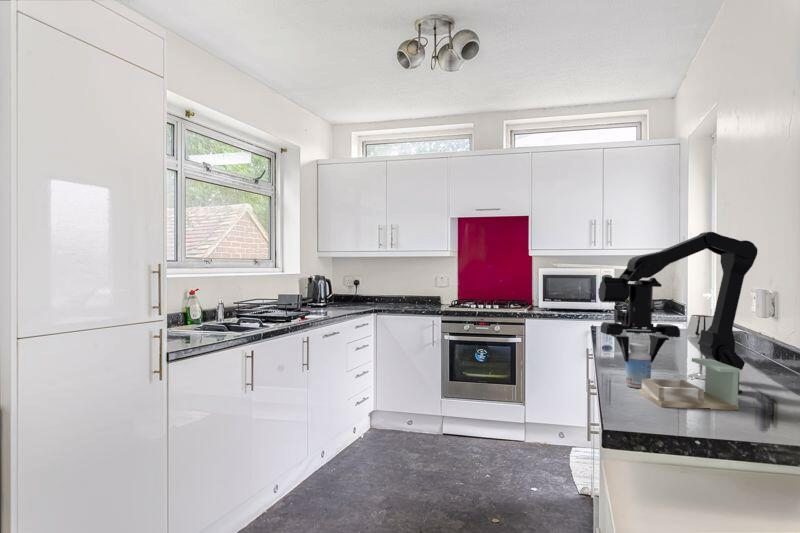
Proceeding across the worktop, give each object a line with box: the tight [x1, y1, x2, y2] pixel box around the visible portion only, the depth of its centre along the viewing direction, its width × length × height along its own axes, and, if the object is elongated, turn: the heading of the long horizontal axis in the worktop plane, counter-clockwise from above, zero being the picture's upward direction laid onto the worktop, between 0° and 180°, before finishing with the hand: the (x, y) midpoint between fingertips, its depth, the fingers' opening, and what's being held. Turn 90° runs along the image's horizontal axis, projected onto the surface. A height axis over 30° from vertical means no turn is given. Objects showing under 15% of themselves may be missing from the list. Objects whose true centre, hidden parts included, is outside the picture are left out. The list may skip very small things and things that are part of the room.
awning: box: [691, 357, 741, 406], centre depth 127 cm, size 4×13×9 cm, turn 177°
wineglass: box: [685, 314, 714, 380], centre depth 156 cm, size 8×8×18 cm
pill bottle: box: [625, 342, 652, 389], centre depth 141 cm, size 6×6×11 cm
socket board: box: [638, 378, 740, 411], centre depth 127 cm, size 17×13×4 cm
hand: (638, 361), depth 141 cm, fingers closed on pill bottle, 6 cm apart
